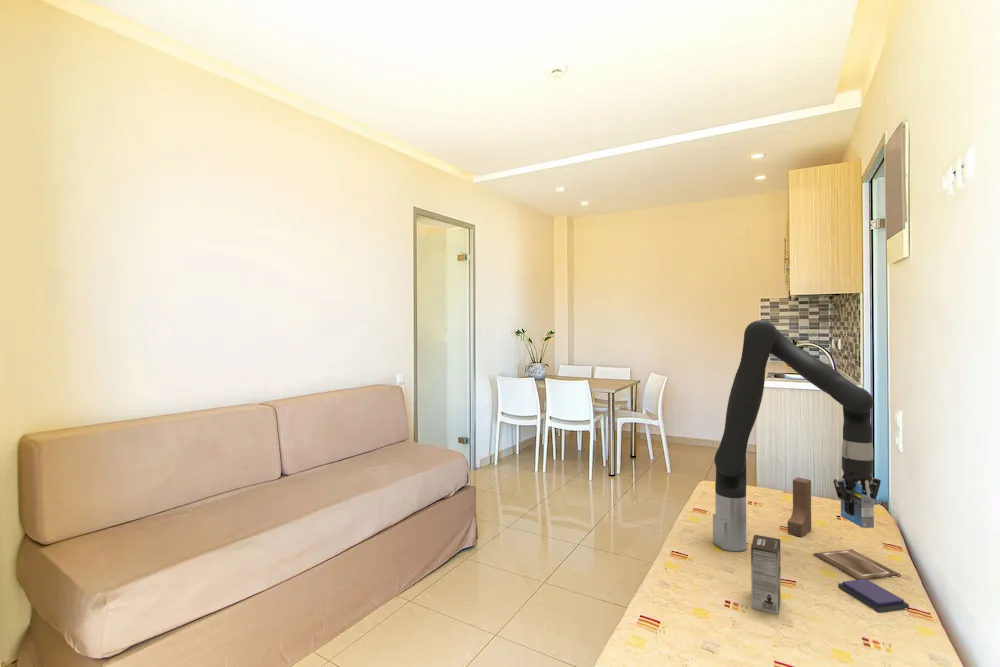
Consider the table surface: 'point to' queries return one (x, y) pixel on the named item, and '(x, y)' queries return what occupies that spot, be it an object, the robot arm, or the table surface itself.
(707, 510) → the table surface
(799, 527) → the wooden block
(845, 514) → the label tape box
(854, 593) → the ink pad
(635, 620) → the table surface
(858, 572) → the walnut board
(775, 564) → the coffee box
